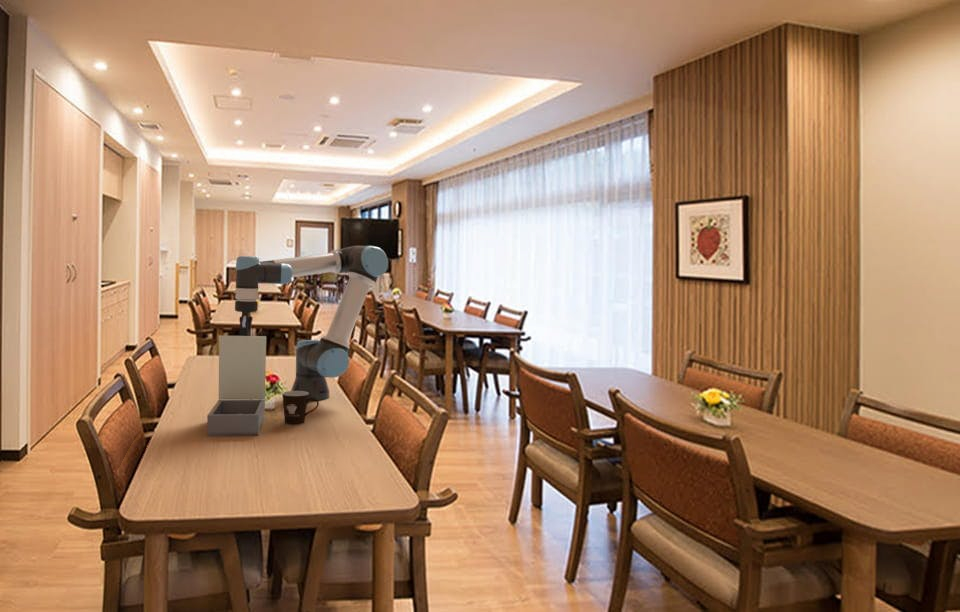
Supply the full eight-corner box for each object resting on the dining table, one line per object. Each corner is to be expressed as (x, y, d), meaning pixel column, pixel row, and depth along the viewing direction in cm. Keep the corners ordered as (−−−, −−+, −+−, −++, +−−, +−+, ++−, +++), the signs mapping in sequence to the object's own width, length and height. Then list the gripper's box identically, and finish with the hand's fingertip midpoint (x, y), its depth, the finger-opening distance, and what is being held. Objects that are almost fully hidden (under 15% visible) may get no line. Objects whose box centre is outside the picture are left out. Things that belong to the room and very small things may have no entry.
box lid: (264, 399, 229) (265, 398, 230) (265, 337, 225) (266, 336, 227) (218, 399, 225) (219, 398, 227) (218, 336, 222) (219, 335, 223)
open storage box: (264, 418, 229) (264, 399, 229) (258, 435, 208) (258, 415, 207) (218, 418, 226) (218, 399, 225) (207, 436, 204) (207, 415, 204)
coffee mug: (276, 422, 224) (276, 393, 223) (294, 418, 232) (295, 389, 231) (302, 428, 219) (302, 398, 218) (319, 423, 226) (320, 394, 226)
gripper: (237, 298, 238) (236, 363, 240) (232, 301, 225) (230, 369, 227) (259, 299, 240) (257, 364, 241) (255, 302, 227) (253, 370, 229)
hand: (244, 366), depth 234 cm, fingers closed
